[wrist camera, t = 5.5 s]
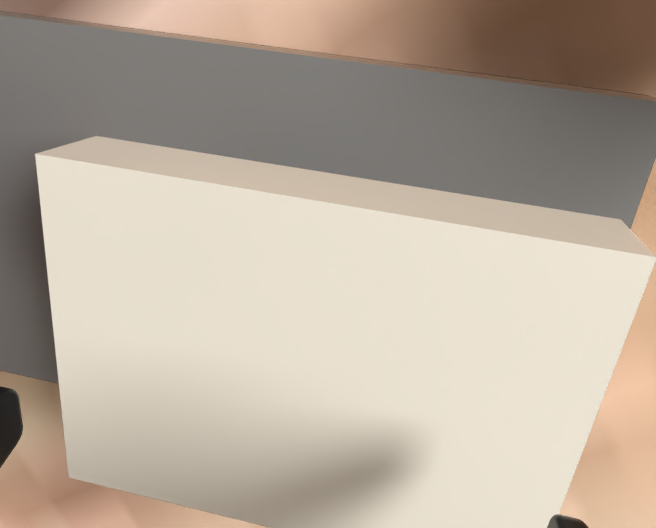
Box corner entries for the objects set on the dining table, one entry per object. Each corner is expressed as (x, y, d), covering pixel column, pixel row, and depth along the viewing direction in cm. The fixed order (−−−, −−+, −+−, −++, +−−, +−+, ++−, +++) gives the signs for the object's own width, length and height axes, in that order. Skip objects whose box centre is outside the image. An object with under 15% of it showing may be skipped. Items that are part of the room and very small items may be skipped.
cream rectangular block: (511, 476, 15) (528, 591, 12) (139, 393, 17) (68, 477, 14) (600, 198, 12) (656, 257, 9) (131, 125, 13) (34, 153, 10)
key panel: (528, 448, 19) (537, 491, 18) (-200, 291, 23) (-255, 313, 21) (645, 95, 15) (674, 104, 13) (-299, -29, 18) (-379, -35, 17)
